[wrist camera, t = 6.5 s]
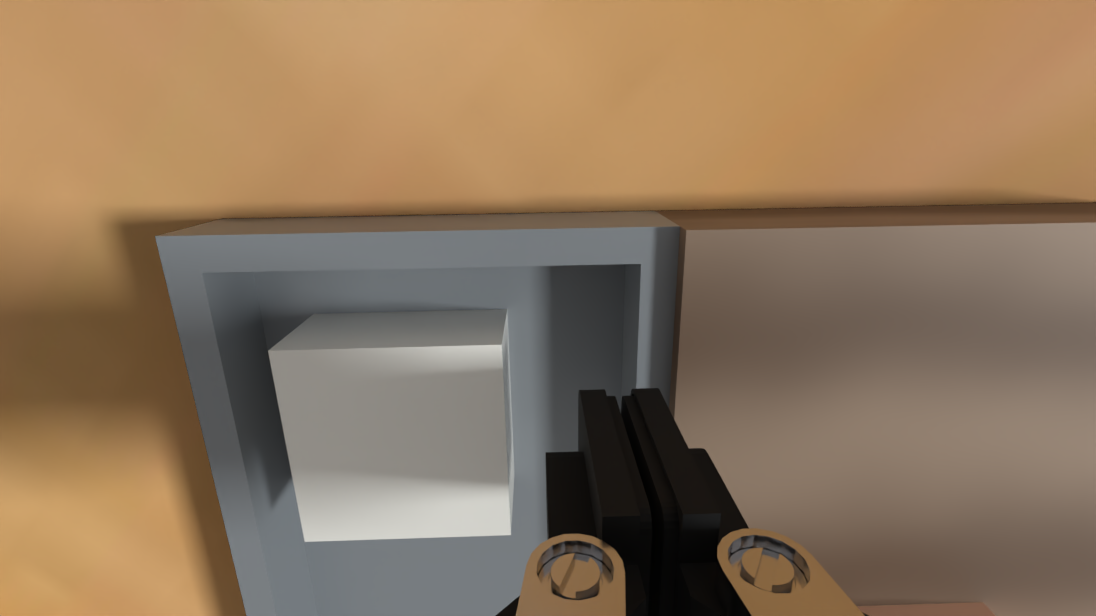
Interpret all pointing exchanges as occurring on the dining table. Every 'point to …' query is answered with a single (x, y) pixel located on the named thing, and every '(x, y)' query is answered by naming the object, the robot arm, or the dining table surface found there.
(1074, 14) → the dining table surface
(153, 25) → the dining table surface
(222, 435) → the box
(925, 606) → the terracotta tile
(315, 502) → the white block
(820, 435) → the walnut board
